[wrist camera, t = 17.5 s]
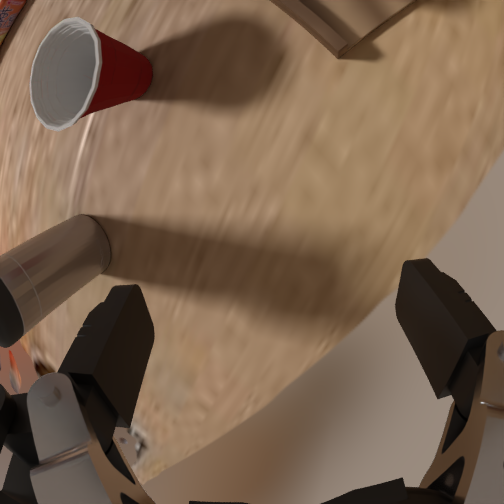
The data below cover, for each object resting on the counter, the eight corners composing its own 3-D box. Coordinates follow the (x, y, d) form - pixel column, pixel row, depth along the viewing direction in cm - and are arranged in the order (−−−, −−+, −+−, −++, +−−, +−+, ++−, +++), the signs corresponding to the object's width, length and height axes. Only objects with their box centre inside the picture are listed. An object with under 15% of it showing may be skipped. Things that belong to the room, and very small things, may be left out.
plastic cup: (90, 63, 30) (17, 60, 19) (157, 19, 26) (87, -7, 16) (110, 135, 34) (36, 151, 23) (183, 99, 30) (112, 95, 19)
